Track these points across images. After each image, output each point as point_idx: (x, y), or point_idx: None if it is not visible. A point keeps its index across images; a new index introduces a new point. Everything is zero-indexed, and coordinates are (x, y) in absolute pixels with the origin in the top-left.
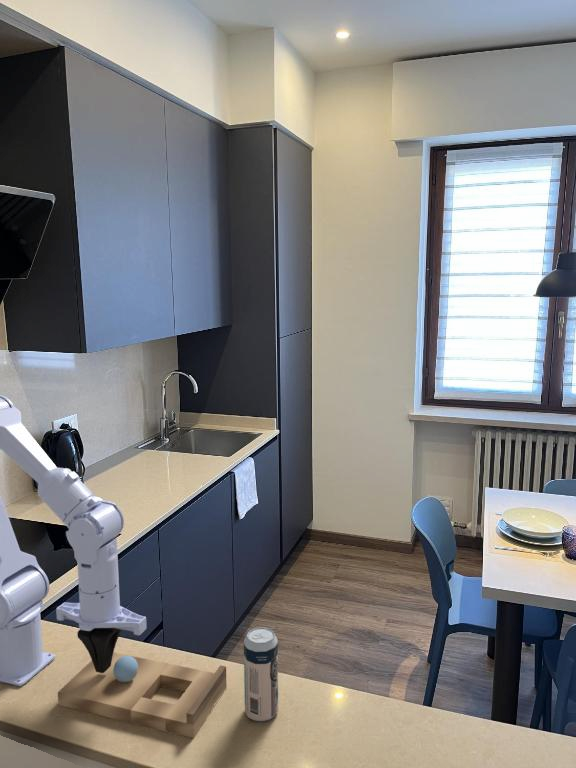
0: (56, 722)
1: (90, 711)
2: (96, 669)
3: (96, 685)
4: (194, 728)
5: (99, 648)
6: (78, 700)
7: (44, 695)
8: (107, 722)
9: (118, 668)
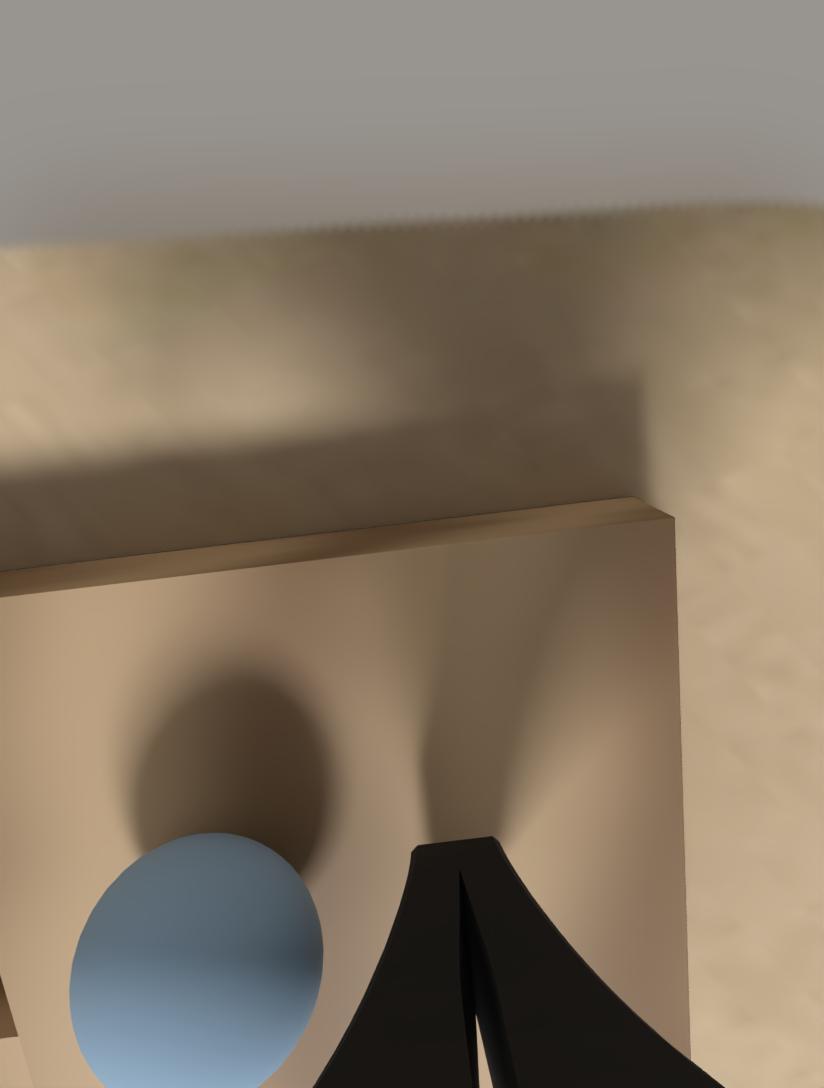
0: (502, 339)
1: (331, 534)
2: (482, 849)
3: (414, 728)
4: None
5: (390, 1086)
6: (444, 536)
7: (814, 535)
8: (136, 506)
9: (181, 925)
